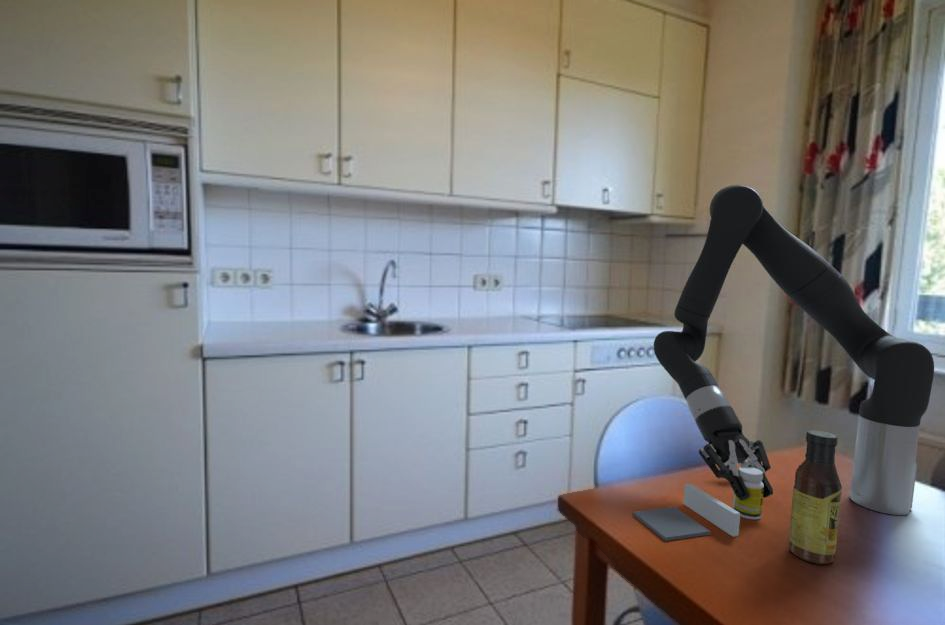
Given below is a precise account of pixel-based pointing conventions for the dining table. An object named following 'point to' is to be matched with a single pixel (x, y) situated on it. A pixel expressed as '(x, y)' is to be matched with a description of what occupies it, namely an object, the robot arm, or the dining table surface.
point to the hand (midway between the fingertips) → (757, 496)
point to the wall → (712, 509)
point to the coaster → (671, 523)
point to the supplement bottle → (755, 487)
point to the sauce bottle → (816, 501)
